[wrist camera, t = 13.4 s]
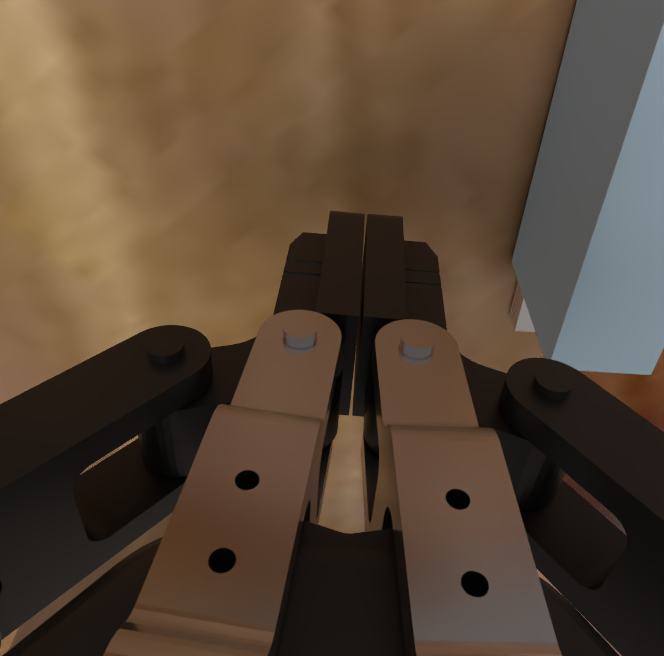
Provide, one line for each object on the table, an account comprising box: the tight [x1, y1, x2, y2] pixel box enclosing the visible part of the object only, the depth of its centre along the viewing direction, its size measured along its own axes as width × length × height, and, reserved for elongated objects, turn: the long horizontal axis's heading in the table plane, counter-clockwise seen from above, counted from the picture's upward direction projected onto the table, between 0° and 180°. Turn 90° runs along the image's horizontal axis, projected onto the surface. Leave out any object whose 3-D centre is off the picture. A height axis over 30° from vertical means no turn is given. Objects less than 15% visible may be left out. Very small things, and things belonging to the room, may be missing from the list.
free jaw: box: [512, 0, 664, 375], centre depth 17 cm, size 10×3×6 cm, turn 178°
